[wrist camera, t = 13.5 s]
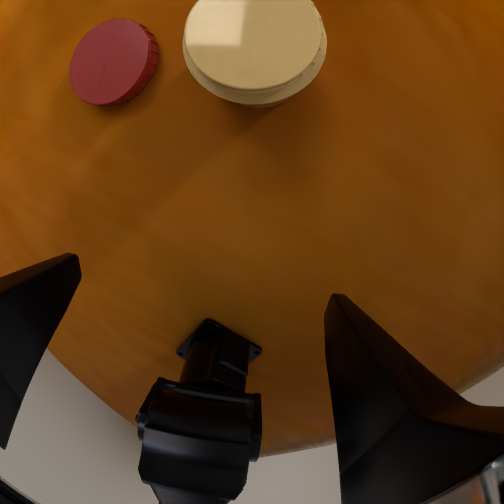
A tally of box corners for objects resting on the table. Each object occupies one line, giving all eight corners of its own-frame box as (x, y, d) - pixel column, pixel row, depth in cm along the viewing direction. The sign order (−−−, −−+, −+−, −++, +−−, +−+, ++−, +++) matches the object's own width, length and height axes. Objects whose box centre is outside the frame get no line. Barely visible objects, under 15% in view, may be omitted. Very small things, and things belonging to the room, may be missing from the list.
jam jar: (267, 126, 18) (267, 134, 10) (193, 76, 16) (141, 53, 8) (324, 61, 15) (365, 26, 7) (250, 10, 14) (237, -51, 6)
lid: (113, 13, 13) (101, 7, 12) (177, 43, 15) (168, 37, 13) (70, 84, 16) (56, 84, 14) (126, 120, 17) (113, 121, 16)
